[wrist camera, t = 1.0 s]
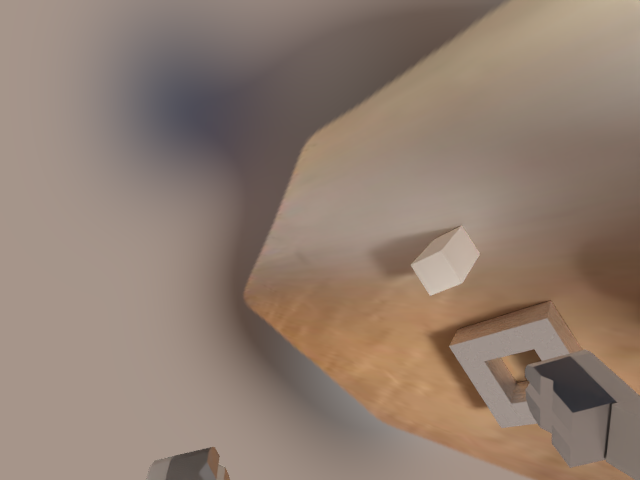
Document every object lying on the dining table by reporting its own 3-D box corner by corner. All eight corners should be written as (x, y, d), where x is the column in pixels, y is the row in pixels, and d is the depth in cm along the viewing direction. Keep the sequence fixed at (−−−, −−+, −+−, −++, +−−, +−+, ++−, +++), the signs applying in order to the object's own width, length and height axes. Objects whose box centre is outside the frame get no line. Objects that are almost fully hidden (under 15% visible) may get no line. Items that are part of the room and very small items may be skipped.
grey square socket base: (550, 300, 45) (547, 318, 42) (608, 390, 45) (608, 414, 42) (457, 329, 53) (448, 346, 50) (507, 406, 53) (501, 427, 50)
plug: (461, 225, 48) (441, 250, 42) (480, 253, 48) (462, 283, 42) (433, 239, 50) (410, 265, 44) (451, 266, 50) (430, 295, 44)
